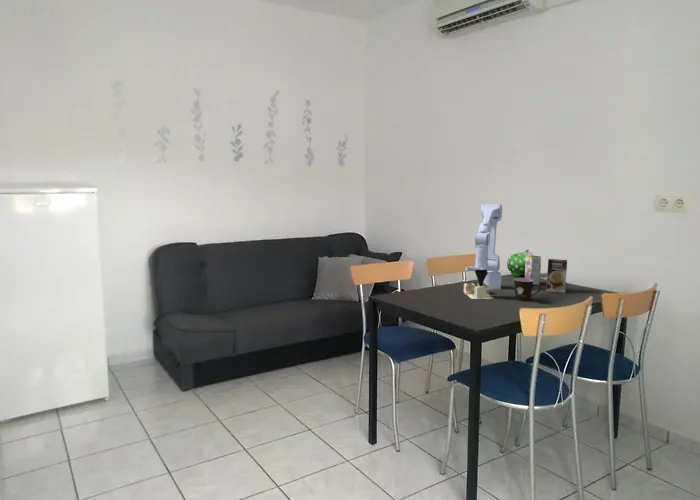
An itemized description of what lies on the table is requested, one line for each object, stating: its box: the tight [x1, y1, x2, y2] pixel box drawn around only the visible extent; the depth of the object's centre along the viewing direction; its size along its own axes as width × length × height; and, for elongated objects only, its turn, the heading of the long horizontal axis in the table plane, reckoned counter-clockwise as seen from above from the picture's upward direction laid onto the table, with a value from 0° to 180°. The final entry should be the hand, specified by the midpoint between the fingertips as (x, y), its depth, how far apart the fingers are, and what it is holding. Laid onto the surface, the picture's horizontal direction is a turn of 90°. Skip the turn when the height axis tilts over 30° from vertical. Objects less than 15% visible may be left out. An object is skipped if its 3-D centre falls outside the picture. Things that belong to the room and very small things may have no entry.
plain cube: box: [474, 285, 487, 297], centre depth 253 cm, size 4×4×4 cm
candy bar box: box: [524, 252, 542, 287], centre depth 284 cm, size 11×5×16 cm, turn 179°
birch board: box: [466, 293, 495, 300], centre depth 257 cm, size 11×15×1 cm
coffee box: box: [545, 258, 568, 294], centre depth 268 cm, size 9×6×16 cm
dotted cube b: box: [463, 282, 476, 295], centre depth 260 cm, size 4×4×5 cm
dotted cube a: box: [477, 282, 490, 295], centre depth 260 cm, size 4×4×5 cm
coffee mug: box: [513, 277, 542, 302], centre depth 246 cm, size 12×9×10 cm
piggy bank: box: [506, 249, 542, 278], centre depth 307 cm, size 14×18×15 cm
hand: (480, 285), depth 253 cm, fingers closed
